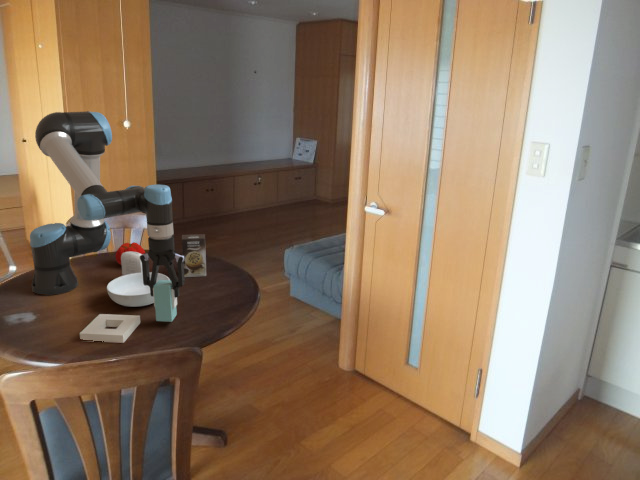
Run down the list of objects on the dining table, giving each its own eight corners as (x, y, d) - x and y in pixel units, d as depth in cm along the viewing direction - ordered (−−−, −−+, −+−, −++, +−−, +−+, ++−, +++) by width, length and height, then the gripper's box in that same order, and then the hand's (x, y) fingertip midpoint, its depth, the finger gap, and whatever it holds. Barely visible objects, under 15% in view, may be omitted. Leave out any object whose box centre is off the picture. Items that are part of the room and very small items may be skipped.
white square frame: (80, 340, 147) (79, 333, 146) (100, 320, 159) (99, 313, 158) (123, 342, 146) (122, 335, 145) (140, 322, 159) (139, 315, 158)
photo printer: (150, 282, 190) (148, 252, 187) (142, 286, 186) (140, 255, 183) (128, 278, 194) (126, 248, 190) (121, 282, 190) (118, 251, 186)
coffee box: (183, 277, 196) (181, 239, 191) (183, 271, 202) (181, 234, 197) (206, 276, 198) (205, 238, 193) (206, 270, 204) (204, 233, 199)
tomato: (118, 261, 211) (116, 241, 208) (147, 260, 214) (146, 240, 211) (114, 270, 201) (112, 249, 198) (145, 268, 204) (143, 248, 201)
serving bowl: (126, 287, 185) (124, 270, 183) (179, 291, 184) (178, 274, 181) (96, 311, 166) (94, 292, 164) (156, 316, 164) (155, 297, 162)
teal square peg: (156, 321, 156) (153, 285, 152) (161, 314, 161) (159, 279, 157) (171, 321, 156) (169, 286, 152) (176, 314, 161) (174, 280, 157)
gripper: (126, 238, 147) (133, 309, 154) (186, 240, 146) (190, 312, 153) (136, 231, 154) (142, 299, 161) (193, 233, 153) (197, 302, 160)
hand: (165, 305), depth 157 cm, fingers closed on teal square peg, 5 cm apart
